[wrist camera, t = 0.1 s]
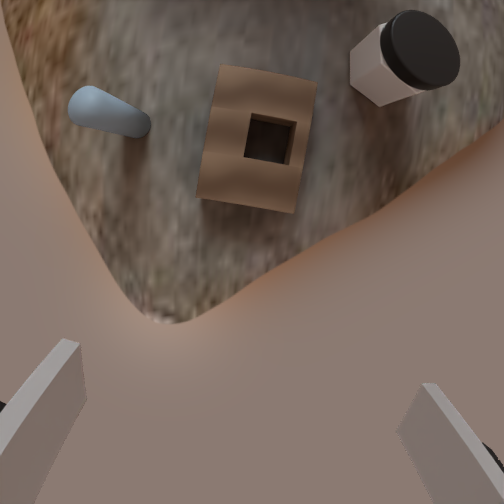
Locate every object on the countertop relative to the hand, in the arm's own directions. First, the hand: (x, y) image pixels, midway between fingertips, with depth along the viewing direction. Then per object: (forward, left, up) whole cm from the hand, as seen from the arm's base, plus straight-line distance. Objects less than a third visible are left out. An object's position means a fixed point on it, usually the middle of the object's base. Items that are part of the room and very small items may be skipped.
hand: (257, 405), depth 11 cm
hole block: (-11, -1, -28) cm, 30 cm away
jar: (-23, +13, -28) cm, 39 cm away
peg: (-11, -14, -28) cm, 33 cm away
